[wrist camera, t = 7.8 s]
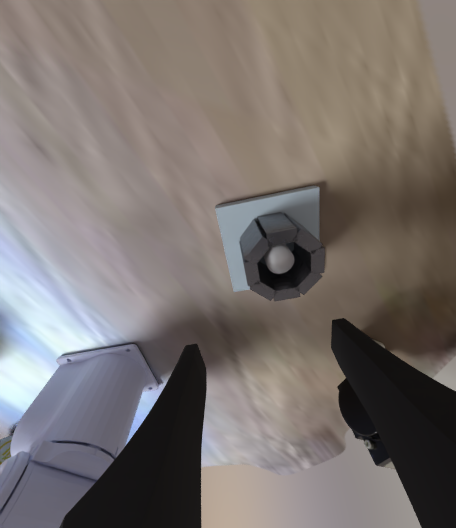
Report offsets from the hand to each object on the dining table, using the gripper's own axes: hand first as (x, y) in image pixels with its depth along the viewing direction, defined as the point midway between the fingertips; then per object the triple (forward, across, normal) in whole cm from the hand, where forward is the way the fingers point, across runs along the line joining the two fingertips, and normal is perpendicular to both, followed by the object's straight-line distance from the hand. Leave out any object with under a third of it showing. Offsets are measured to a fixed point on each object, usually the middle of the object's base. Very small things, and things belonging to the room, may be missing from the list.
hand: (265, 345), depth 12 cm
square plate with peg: (+10, -2, -2) cm, 10 cm away
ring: (+9, -2, -2) cm, 9 cm away
